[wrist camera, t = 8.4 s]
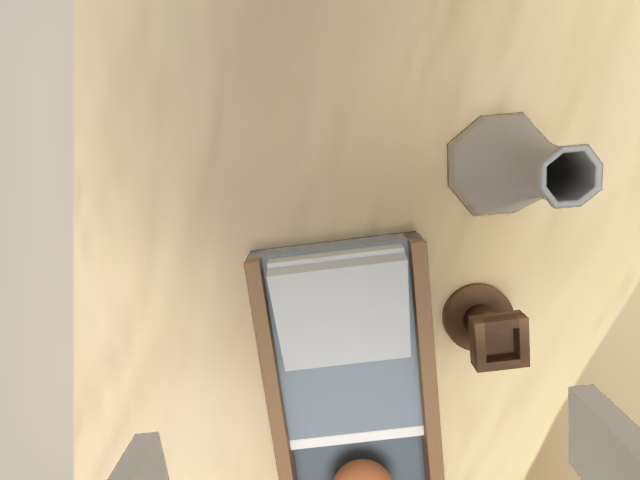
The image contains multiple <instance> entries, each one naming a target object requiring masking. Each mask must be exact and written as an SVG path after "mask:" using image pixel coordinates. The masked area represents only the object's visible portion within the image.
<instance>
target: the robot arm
mask: <svg viewBox="0 0 640 480" xmlns="http://www.w3.org/2000/svg"><path fill="white" fill-rule="evenodd" d="M569 463H570V465H571V466H572V467H573V469H574V470H575V471H576V473H577V474H578V475H579V476H580V478H581V479H582V480H640V427H639V426H638V425H637V424H636V423H635V422H633V421H632V420H631V419H630V418H629V417H628V416H627V415H626V414H625V413H624V412H623V411H622V410H620V409H619V408H618V407H617V406H616V405H615V404H614V403H613V402H612V401H611V400H610V399H609V398H607V397H606V396H605V395H604V394H603V393H602V392H601V391H600V390H599V389H598V388H597V387H596V386H594V385H593V384H590V385H581V386H572V387H569ZM108 480H169V476H168V471H167V467H166V463H165V458H164V454H163V449H162V445H161V441H160V436H159V432H151V433H142V434H135V435H134V437H133V439H132V440H131V442H130V443H129V445H128V447H127V448H126V450H125V452H124V453H123V455H122V457H121V458H120V460H119V461H118V463H117V465H116V466H115V468H114V470H113V471H112V473H111V475H110V476H109V478H108Z"/></svg>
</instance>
